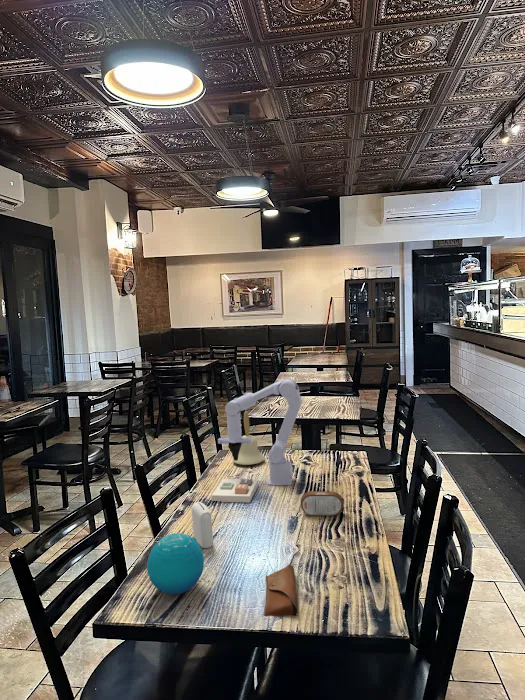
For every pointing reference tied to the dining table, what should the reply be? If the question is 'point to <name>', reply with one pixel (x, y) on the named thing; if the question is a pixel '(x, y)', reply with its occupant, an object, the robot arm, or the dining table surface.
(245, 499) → the key panel
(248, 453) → the handbell
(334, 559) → the dining table surface
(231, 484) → the key three
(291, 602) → the sunglasses case
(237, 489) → the key two
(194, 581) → the decorative orb
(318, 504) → the tin
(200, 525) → the photo printer
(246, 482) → the key one
